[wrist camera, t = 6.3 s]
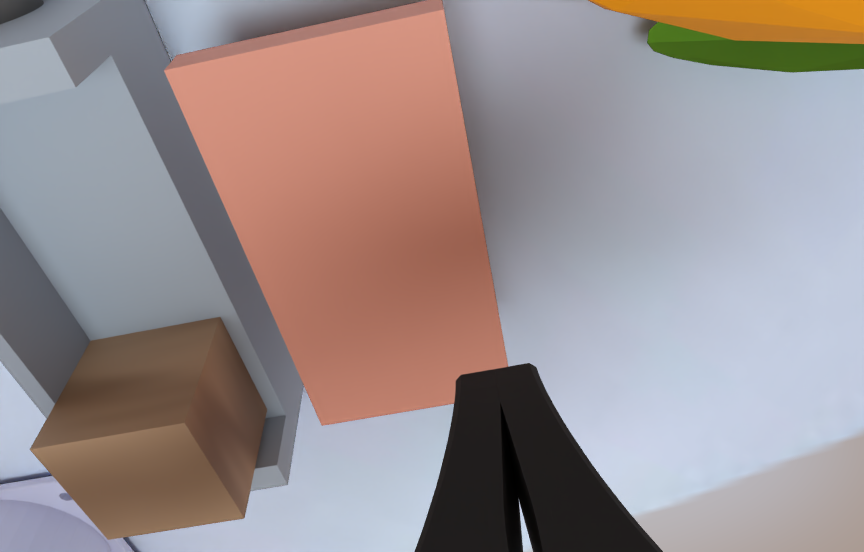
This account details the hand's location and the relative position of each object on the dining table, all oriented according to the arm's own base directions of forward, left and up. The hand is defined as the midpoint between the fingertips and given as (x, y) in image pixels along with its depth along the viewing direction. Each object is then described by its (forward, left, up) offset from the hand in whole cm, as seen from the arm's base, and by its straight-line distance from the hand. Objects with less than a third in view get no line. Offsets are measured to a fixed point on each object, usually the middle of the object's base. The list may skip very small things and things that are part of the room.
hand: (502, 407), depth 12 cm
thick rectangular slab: (0, +6, -7) cm, 9 cm away
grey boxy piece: (0, +10, -10) cm, 14 cm away
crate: (-4, +10, -7) cm, 12 cm away
